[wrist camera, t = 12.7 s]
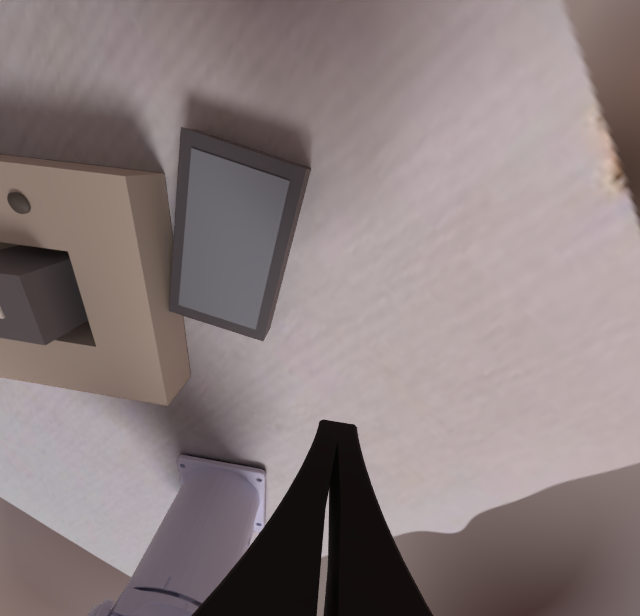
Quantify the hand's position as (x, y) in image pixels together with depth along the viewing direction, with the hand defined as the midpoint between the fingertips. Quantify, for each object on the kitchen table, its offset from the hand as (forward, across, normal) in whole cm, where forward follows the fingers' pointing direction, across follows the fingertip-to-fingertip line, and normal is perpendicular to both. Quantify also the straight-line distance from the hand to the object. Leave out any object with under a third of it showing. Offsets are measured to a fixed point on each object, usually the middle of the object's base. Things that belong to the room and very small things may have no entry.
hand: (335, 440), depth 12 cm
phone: (+9, +7, -5) cm, 12 cm away
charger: (+8, +18, -1) cm, 20 cm away
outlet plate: (+8, +18, -1) cm, 20 cm away
